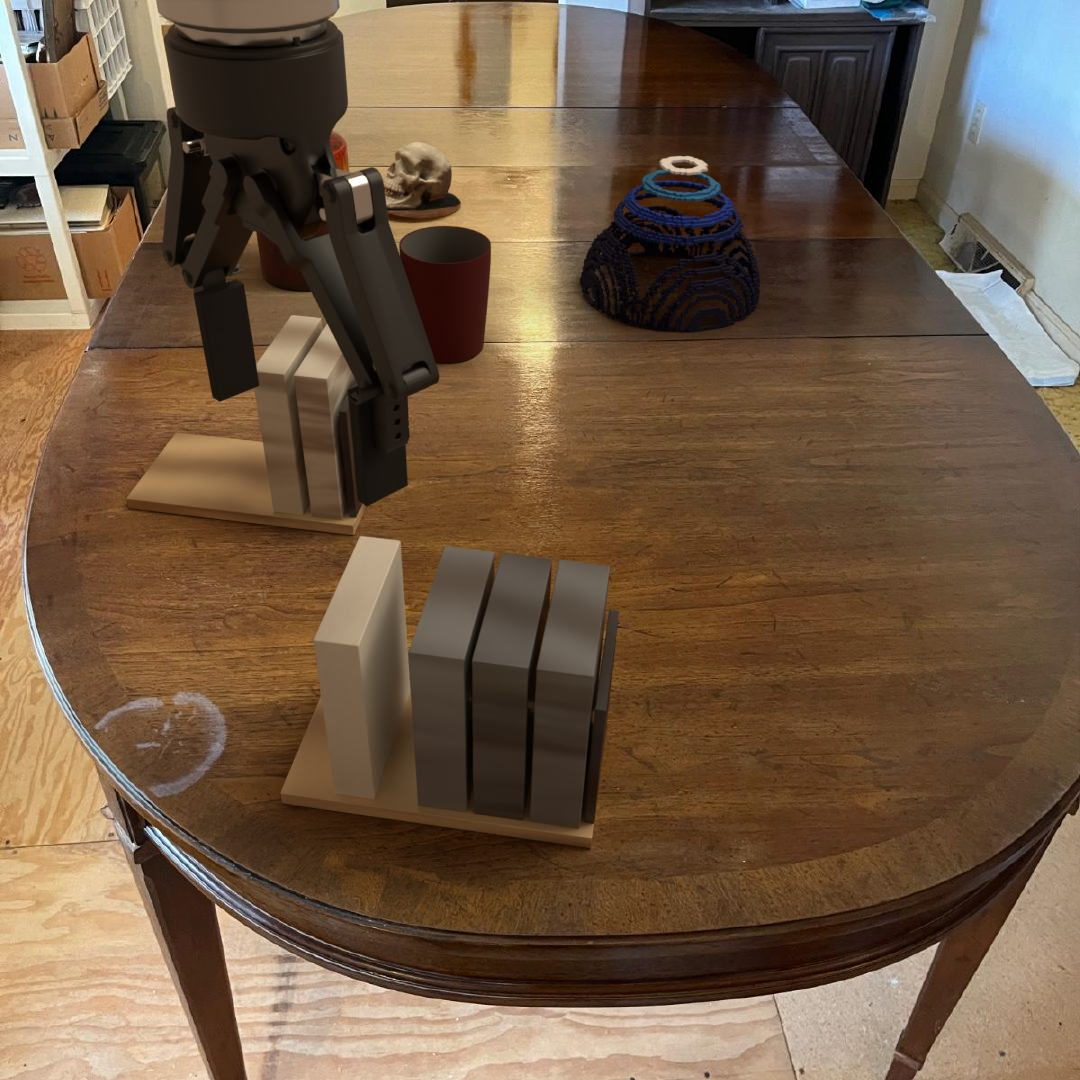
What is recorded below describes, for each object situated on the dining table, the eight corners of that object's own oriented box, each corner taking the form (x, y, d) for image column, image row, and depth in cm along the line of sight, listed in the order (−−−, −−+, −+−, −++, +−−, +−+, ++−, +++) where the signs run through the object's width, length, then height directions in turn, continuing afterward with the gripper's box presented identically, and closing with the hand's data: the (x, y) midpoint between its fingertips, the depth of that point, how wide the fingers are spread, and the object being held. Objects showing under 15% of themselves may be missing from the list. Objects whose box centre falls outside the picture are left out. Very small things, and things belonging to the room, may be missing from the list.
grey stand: (591, 848, 63) (608, 685, 54) (281, 803, 65) (249, 638, 56) (607, 721, 71) (624, 561, 62) (330, 684, 73) (309, 523, 64)
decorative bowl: (555, 263, 126) (560, 140, 117) (706, 244, 132) (722, 126, 123) (622, 342, 112) (634, 208, 102) (788, 317, 117) (813, 188, 108)
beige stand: (353, 535, 85) (338, 383, 76) (128, 508, 87) (87, 357, 78) (386, 465, 93) (375, 319, 84) (178, 441, 95) (146, 296, 86)
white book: (374, 800, 64) (358, 646, 56) (334, 794, 64) (312, 640, 56) (410, 691, 71) (400, 540, 63) (374, 686, 71) (359, 535, 63)
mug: (397, 382, 104) (390, 277, 97) (362, 342, 110) (354, 240, 103) (505, 355, 109) (507, 253, 102) (467, 318, 114) (466, 219, 107)
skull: (394, 223, 131) (366, 144, 130) (374, 253, 140) (347, 179, 140) (480, 203, 135) (453, 127, 135) (455, 233, 145) (429, 162, 145)
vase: (296, 244, 128) (275, 65, 115) (374, 262, 125) (362, 80, 112) (242, 279, 120) (213, 91, 107) (324, 299, 117) (304, 108, 104)
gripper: (520, 71, 41) (511, 511, 54) (177, -39, 54) (237, 336, 67) (365, 110, 36) (396, 577, 50) (33, -20, 50) (128, 376, 63)
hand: (305, 439), depth 59 cm, fingers open, 13 cm apart
